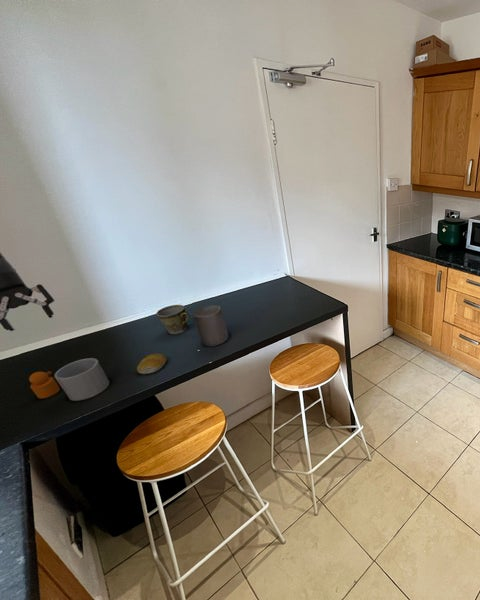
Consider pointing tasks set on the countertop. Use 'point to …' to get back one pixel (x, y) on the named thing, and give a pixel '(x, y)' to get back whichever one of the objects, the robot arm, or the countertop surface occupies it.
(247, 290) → the countertop surface
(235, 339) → the countertop surface
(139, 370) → the bread roll
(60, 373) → the pot
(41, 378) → the duck
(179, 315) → the ceramic cup
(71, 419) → the countertop surface
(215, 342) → the grey canister
